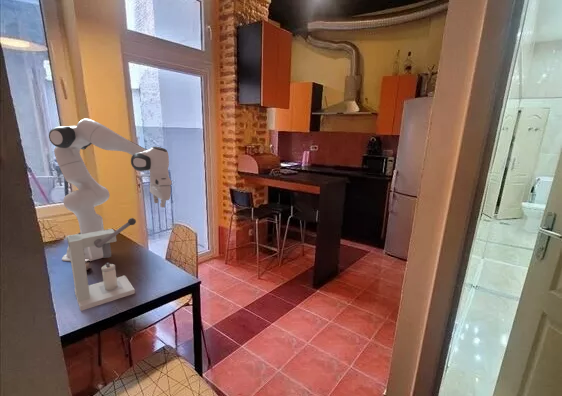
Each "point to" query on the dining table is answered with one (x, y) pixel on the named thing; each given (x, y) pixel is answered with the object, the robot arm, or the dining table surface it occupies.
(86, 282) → the press
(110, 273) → the white lidded bottle
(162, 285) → the dining table surface
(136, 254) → the dining table surface
